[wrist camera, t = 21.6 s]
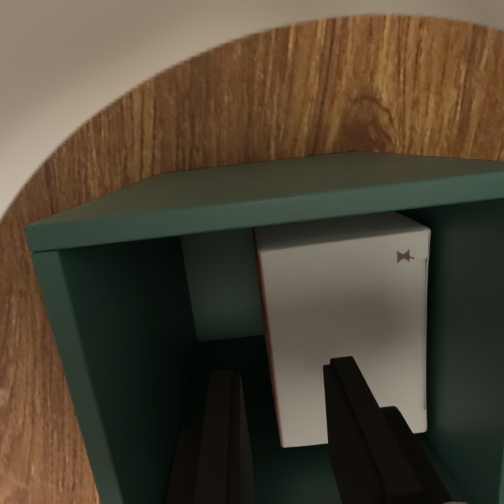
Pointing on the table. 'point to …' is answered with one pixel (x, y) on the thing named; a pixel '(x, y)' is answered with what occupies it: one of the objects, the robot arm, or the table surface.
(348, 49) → the table surface
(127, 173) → the table surface
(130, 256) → the bin
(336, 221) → the small box
